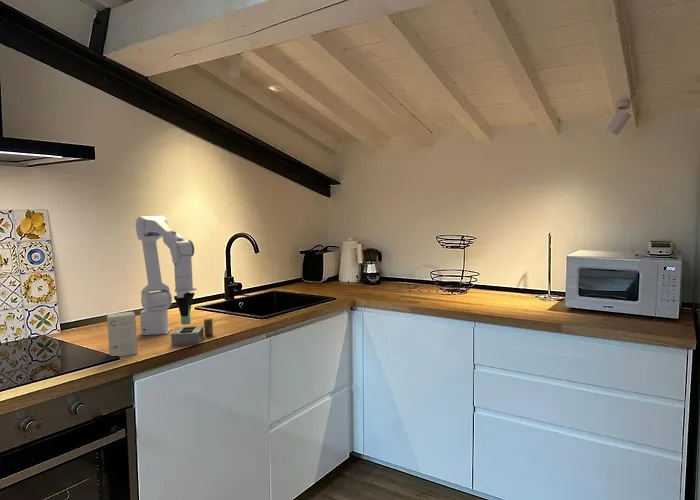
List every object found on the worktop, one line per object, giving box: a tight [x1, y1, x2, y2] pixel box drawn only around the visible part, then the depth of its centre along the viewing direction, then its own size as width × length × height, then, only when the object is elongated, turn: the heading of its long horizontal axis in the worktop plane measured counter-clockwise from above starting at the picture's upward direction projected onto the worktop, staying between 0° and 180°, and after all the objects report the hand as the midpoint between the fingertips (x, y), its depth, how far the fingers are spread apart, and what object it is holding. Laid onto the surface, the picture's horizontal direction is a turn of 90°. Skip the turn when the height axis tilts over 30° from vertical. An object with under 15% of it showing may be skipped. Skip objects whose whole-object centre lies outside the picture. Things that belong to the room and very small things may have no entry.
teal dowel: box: [180, 306, 191, 325], centre depth 173 cm, size 3×3×8 cm
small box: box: [106, 311, 139, 357], centre depth 161 cm, size 8×6×13 cm
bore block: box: [170, 325, 205, 347], centre depth 176 cm, size 9×10×4 cm
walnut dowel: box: [203, 317, 214, 337], centre depth 183 cm, size 3×3×6 cm
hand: (185, 315), depth 173 cm, fingers closed on teal dowel, 3 cm apart
